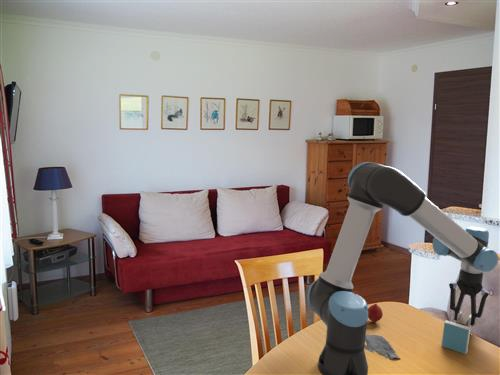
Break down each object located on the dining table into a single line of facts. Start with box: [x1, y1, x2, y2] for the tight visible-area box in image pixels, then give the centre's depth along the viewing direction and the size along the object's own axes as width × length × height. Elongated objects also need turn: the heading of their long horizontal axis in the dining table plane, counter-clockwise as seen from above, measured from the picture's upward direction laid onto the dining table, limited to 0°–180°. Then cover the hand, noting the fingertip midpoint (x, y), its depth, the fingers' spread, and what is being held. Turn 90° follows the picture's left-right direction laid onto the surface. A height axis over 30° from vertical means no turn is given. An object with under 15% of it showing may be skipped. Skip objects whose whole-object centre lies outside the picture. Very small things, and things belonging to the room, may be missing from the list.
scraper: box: [449, 307, 473, 328], centre depth 163 cm, size 6×18×6 cm, turn 142°
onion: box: [368, 302, 384, 324], centre depth 171 cm, size 6×6×8 cm
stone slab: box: [364, 333, 400, 360], centre depth 154 cm, size 18×2×10 cm
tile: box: [441, 320, 472, 355], centre depth 154 cm, size 8×2×9 cm, turn 52°
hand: (462, 330), depth 164 cm, fingers closed on scraper, 3 cm apart
